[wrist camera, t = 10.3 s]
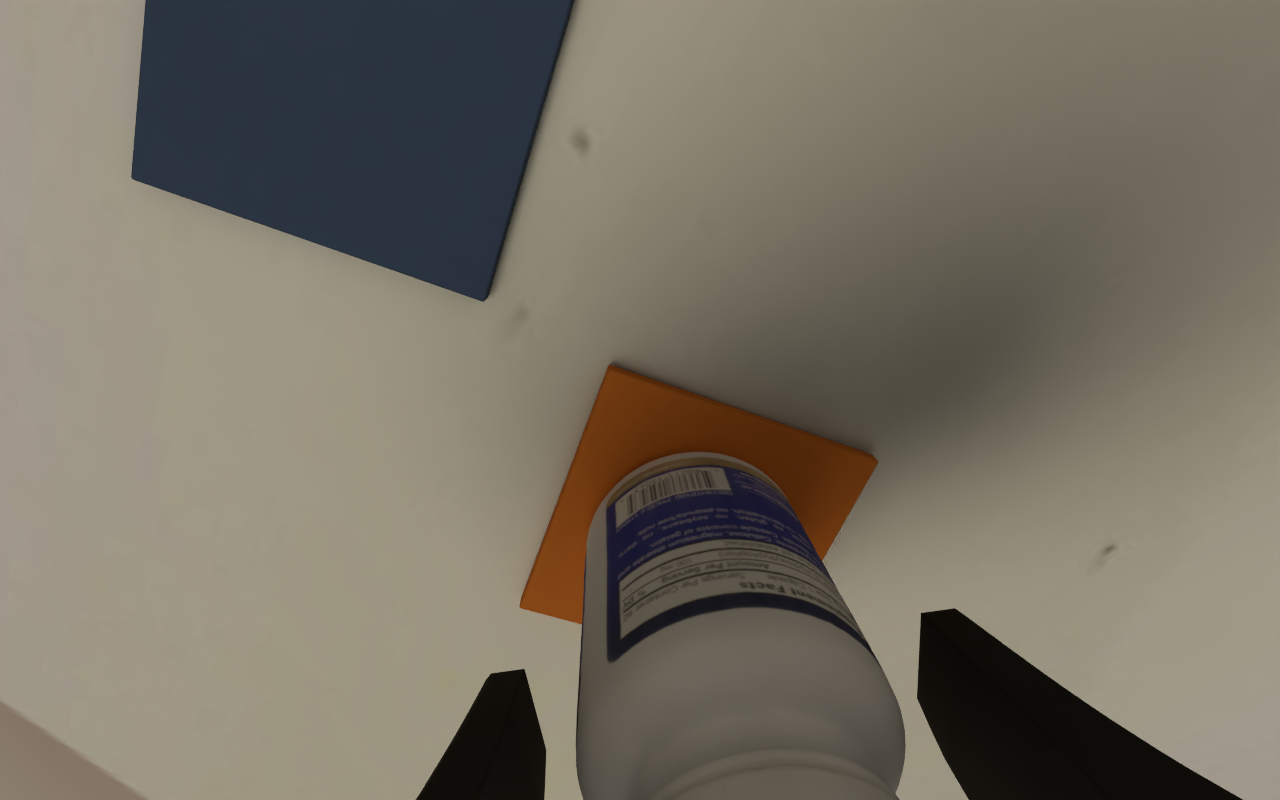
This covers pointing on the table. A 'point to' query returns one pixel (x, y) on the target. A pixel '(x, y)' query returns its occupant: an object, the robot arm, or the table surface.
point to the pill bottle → (723, 650)
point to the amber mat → (671, 424)
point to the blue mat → (352, 120)
